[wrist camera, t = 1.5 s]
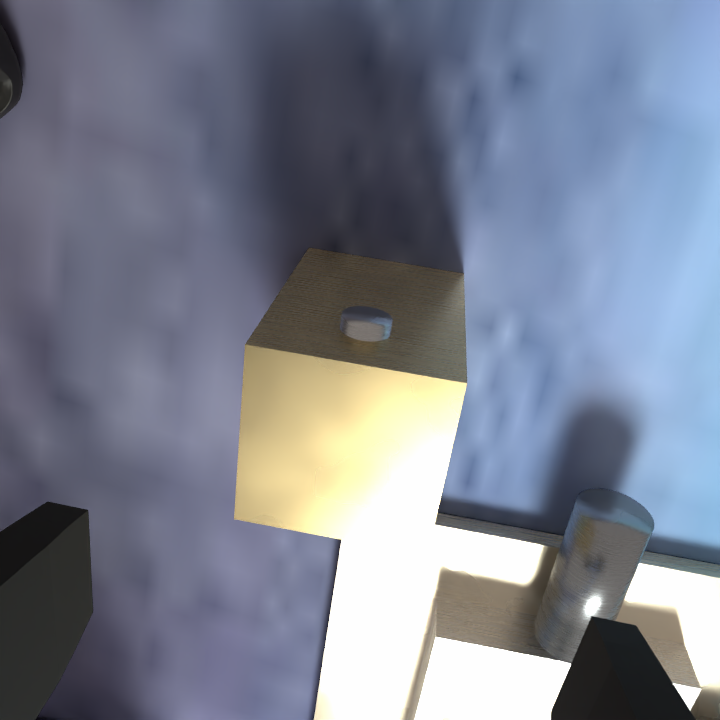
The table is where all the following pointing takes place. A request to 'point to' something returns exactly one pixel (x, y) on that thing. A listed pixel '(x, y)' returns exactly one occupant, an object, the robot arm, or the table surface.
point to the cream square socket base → (511, 616)
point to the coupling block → (353, 401)
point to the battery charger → (8, 75)
